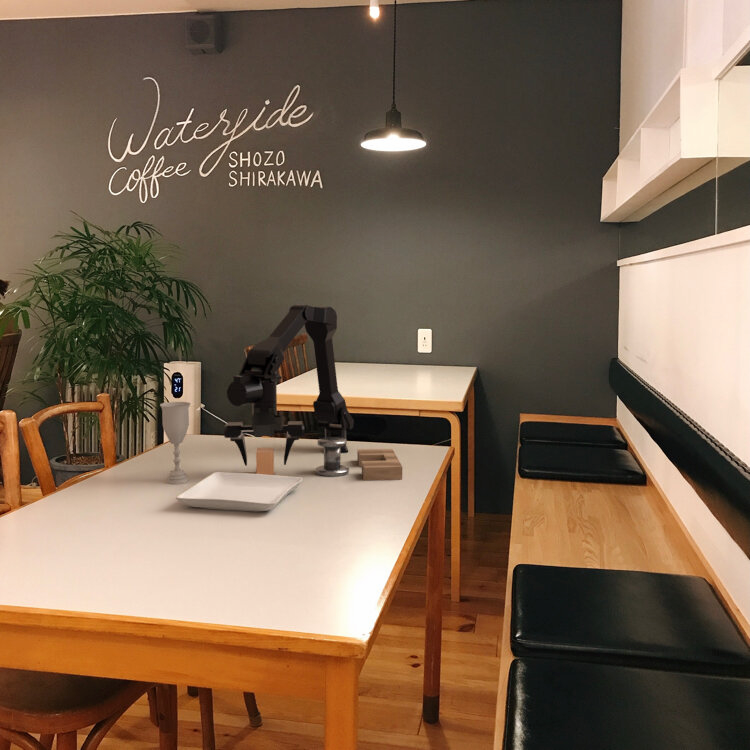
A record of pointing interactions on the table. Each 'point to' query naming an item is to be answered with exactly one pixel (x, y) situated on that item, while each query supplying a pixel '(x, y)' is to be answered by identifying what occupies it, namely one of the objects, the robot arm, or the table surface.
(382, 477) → the notched board
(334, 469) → the bobbin
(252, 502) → the salad plate
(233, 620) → the table surface
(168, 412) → the chalice
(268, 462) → the wooden block
